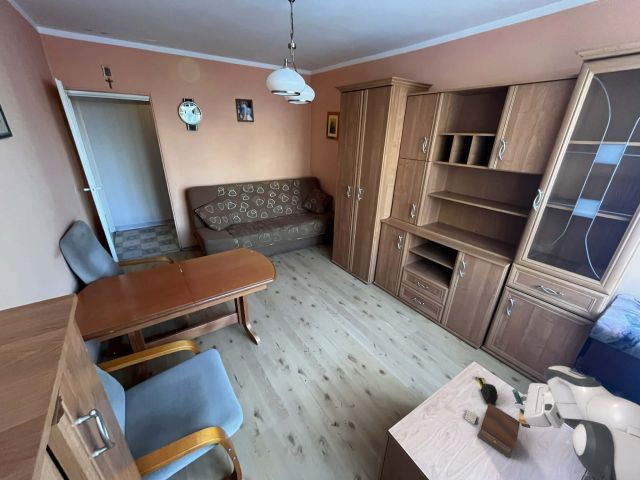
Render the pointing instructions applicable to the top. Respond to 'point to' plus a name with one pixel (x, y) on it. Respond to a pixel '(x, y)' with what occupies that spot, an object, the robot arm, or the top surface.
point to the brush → (521, 413)
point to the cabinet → (499, 430)
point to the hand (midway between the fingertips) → (516, 402)
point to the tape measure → (488, 392)
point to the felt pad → (471, 417)
